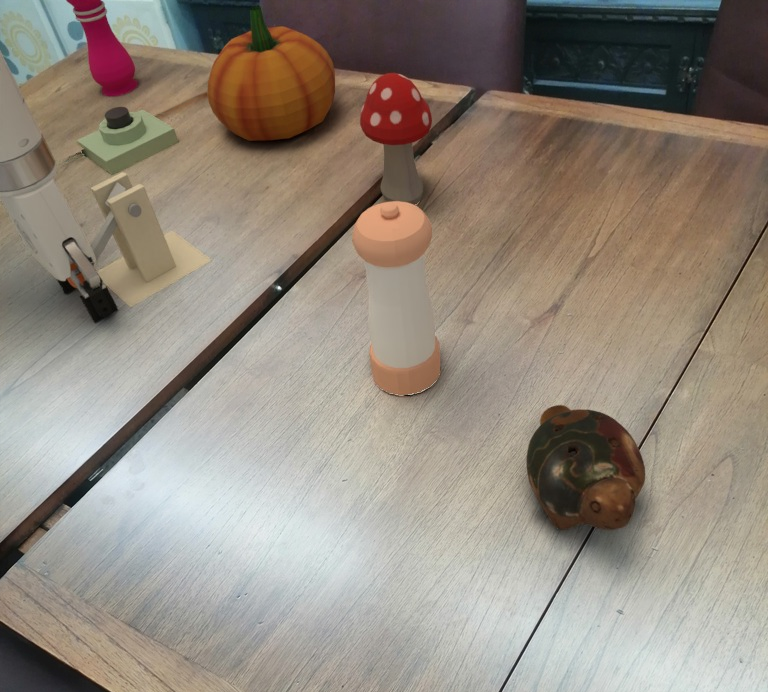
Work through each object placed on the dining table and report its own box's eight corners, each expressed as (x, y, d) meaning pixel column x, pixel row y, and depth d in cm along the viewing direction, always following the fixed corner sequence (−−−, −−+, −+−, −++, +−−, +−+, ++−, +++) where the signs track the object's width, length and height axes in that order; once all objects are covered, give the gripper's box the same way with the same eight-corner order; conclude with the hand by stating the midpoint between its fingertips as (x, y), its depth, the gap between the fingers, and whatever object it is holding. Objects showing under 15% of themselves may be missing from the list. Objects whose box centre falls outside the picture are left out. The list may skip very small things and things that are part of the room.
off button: (116, 132, 104) (111, 121, 103) (105, 125, 106) (100, 113, 104) (136, 123, 105) (132, 111, 104) (125, 116, 107) (120, 104, 106)
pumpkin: (262, 168, 101) (233, 54, 89) (197, 126, 110) (163, 18, 98) (365, 115, 107) (351, 2, 94) (294, 80, 116) (274, -28, 104)
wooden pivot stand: (134, 314, 84) (90, 227, 75) (96, 280, 89) (51, 194, 80) (215, 268, 88) (183, 179, 78) (175, 238, 93) (140, 150, 83)
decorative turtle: (567, 581, 58) (570, 524, 51) (499, 457, 67) (495, 397, 61) (675, 543, 58) (692, 483, 52) (592, 426, 68) (598, 362, 61)
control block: (112, 175, 104) (100, 149, 101) (82, 154, 109) (70, 128, 106) (179, 142, 108) (169, 115, 105) (147, 122, 113) (138, 97, 110)
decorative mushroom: (448, 203, 91) (444, 80, 79) (389, 226, 89) (376, 104, 77) (414, 170, 96) (405, 50, 84) (358, 190, 95) (341, 71, 83)
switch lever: (91, 298, 83) (68, 286, 80) (79, 287, 85) (56, 275, 82) (147, 203, 81) (124, 188, 78) (134, 194, 82) (111, 178, 80)
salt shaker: (452, 360, 74) (447, 190, 58) (420, 405, 71) (405, 239, 55) (394, 341, 77) (374, 174, 61) (360, 384, 73) (329, 219, 58)
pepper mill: (122, 84, 122) (69, -56, 106) (152, 90, 120) (102, -53, 103) (94, 103, 119) (34, -38, 103) (124, 110, 116) (67, -34, 100)
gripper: (-50, 150, 74) (35, 288, 88) (15, 210, 65) (97, 352, 80) (14, 122, 76) (87, 260, 91) (85, 176, 68) (153, 319, 82)
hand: (91, 302), depth 85 cm, fingers open, 7 cm apart
